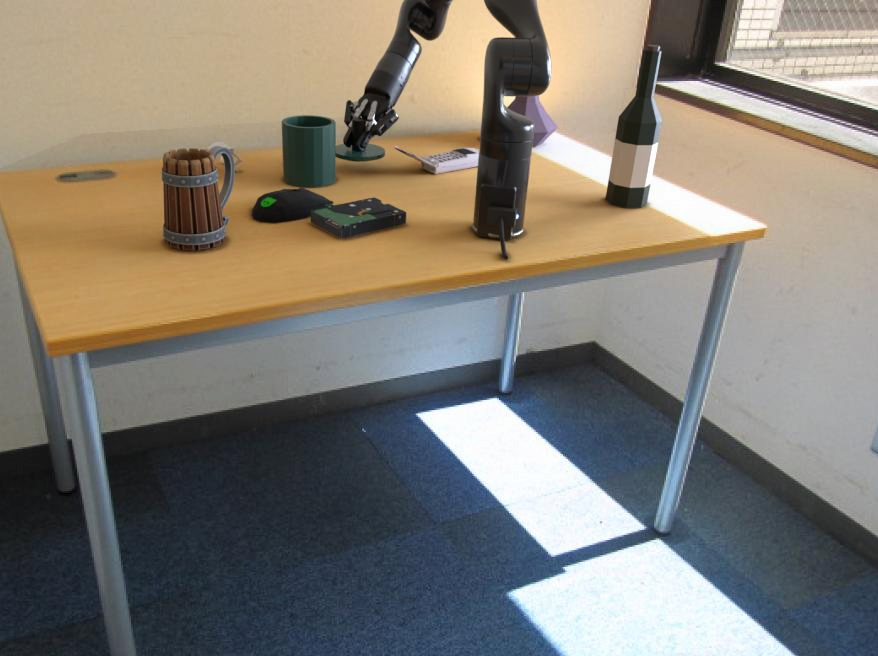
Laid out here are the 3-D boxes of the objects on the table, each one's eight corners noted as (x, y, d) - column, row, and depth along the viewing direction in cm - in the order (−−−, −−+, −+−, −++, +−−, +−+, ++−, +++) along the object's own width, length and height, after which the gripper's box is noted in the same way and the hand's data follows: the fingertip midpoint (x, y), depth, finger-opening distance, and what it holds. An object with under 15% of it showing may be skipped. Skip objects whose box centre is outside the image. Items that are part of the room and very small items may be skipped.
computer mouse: (235, 212, 167) (233, 191, 165) (300, 194, 177) (299, 174, 175) (274, 227, 160) (273, 206, 158) (339, 208, 171) (339, 187, 169)
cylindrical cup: (325, 189, 181) (325, 130, 174) (275, 183, 183) (273, 124, 177) (342, 175, 190) (342, 118, 183) (294, 170, 192) (293, 113, 186)
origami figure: (246, 176, 187) (245, 152, 184) (206, 178, 184) (204, 154, 182) (236, 160, 196) (235, 138, 194) (198, 162, 194) (196, 140, 191)
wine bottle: (647, 210, 177) (677, 50, 161) (605, 206, 178) (631, 47, 163) (645, 197, 184) (674, 43, 168) (605, 193, 185) (630, 40, 170)
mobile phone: (392, 145, 189) (481, 131, 202) (391, 173, 192) (479, 157, 205) (408, 153, 185) (498, 138, 198) (407, 180, 188) (496, 164, 201)
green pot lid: (376, 166, 187) (377, 128, 183) (324, 160, 190) (324, 122, 186) (391, 152, 197) (392, 115, 193) (341, 147, 200) (341, 110, 195)
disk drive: (373, 210, 171) (309, 223, 163) (373, 196, 169) (309, 209, 161) (407, 226, 164) (341, 240, 156) (407, 211, 163) (342, 225, 154)
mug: (197, 257, 147) (189, 167, 139) (150, 243, 151) (141, 155, 144) (257, 231, 158) (254, 147, 150) (213, 219, 163) (207, 137, 155)
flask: (486, 148, 213) (494, 60, 203) (491, 132, 227) (499, 49, 217) (555, 153, 211) (566, 65, 201) (556, 137, 225) (566, 53, 215)
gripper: (356, 64, 193) (319, 130, 191) (408, 73, 186) (370, 143, 184) (370, 85, 200) (335, 150, 197) (421, 95, 193) (385, 163, 190)
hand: (352, 146), depth 191 cm, fingers closed on green pot lid, 3 cm apart
